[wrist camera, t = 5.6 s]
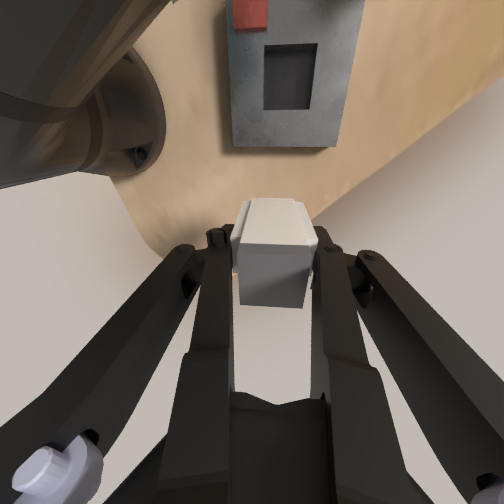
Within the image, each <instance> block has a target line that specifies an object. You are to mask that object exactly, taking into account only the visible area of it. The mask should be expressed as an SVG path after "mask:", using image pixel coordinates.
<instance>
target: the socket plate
mask: <svg viewBox="0 0 504 504" xmlns="http://www.w3.org/2000/svg"><path fill="white" fill-rule="evenodd" d="M225 4H226V23H227V42H228V61H229V80H230V98H231V117H232V136H233V147H336V144H337V139H338V134H339V129H340V124H341V119H342V114H343V109H344V104H345V99H346V94H347V89H348V84H349V79H350V74H351V69H352V64H353V59H354V54H355V49H356V44H357V39H358V34H359V29H360V24H361V19H362V14H363V9H364V4H365V0H225Z"/></svg>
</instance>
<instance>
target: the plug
mask: <svg viewBox="0 0 504 504" xmlns="http://www.w3.org/2000/svg"><path fill="white" fill-rule="evenodd" d="M312 257H313V256H312V253H311V250H310V247H309V244H308V241H307V238H306V234H305V231H304V228H303V225H302V222H301V219H300V216H299V213H298V210H297V207H296V204H295V201H294V199H289V198H252V201H251V204H250V208H249V212H248V215H247V219H246V223H245V226H244V230H243V233H242V237H241V241H240V244H239V248H238V251H237V261H238V278H239V293H240V294H239V295H240V305H252V306H269V307H285V308H301V309H302V308H303V302H304V297H305V292H306V287H307V282H308V277H309V272H310V267H311V262H312Z"/></svg>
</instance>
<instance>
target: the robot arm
mask: <svg viewBox="0 0 504 504" xmlns="http://www.w3.org/2000/svg"><path fill="white" fill-rule="evenodd" d="M171 1H172V2H173V4H174V3H175V2H177V1H178V0H171ZM169 2H170V0H0V189H3V188H7V187H12V186H16V185H20V184H25V183H29V182H33V181H38V180H42V179H47V178H51V177H55V176H59V175H64V174H68V173H72V172H77V171H79V172H86V173H92V174H99V175H105V176H112V177H122V176H129V175H132V174H135V173H138V172H141V171H144V170H145V169H147V168H149V167H150V166H151V165H152V164H153V163H154V162H155V161H156V160H157V158H158V157H159V155H160V153H161V151H162V148H163V145H164V141H165V135H166V118H165V111H164V106H163V102H162V98H161V95H160V92H159V89H158V87H157V84H156V82H155V80H154V78H153V76H152V74H151V72H150V70H149V69H148V67H147V65H146V64H145V62H144V61H143V59H142V58H141V57H140V55H139V54H138V53H137V52H136V51H135V49H134V48H133V47H132V46H133V44H134V43H135V42H136V41H137V40H138V38H139V37H140V36H141V35H142V34H143V32H144V31H145V30H146V29H147V28H148V26H149V25H150V24H151V23H152V21H153V20H154V19H155V18H156V17H157V15H158V14H159V13H160V12H161V11H162V10H163V8H164V7H165V6H166V5H167V4H168V3H169ZM250 204H251V201H243V204H242V206H241V209H240V212H239V214H238V217H237V220H236V223H235V224H225V225H224V226H222V227H221V228H213V229H210V230H209V231H207V233H206V236H207V243H208V247H207V248H206V249H201V250H195V247H194V246H193V245H190V244H182V245H179V246H177V247H175V248H174V249H173V250H172V251H171V252H170V253H169V254H168V255H167V256H166V257H165V259H164V260H163V261H162V262H161V263H160V264H159V265H158V266H157V267H156V268H155V270H154V271H153V272H152V273H151V274H150V275H149V276H148V277H147V279H146V280H145V281H144V282H143V283H142V284H141V285H140V286H139V287H138V288H137V290H136V291H135V292H134V293H133V294H132V295H131V296H130V297H129V299H127V301H126V302H125V303H124V304H123V305H122V306H121V307H120V308H119V309H118V310H117V312H116V313H115V314H114V315H113V316H112V317H111V318H110V320H108V322H107V323H106V324H105V325H104V326H103V327H102V328H101V329H100V330H99V332H98V333H97V334H96V335H95V336H94V337H93V338H92V339H91V340H90V341H89V343H88V344H87V345H86V346H85V347H84V348H83V349H82V350H81V351H80V352H79V354H78V355H77V356H76V357H75V358H74V359H73V360H72V361H71V362H70V364H69V365H68V366H67V367H66V368H65V369H64V370H63V371H62V372H61V374H60V375H59V376H58V377H57V378H56V379H55V380H54V381H53V382H52V383H51V385H50V386H49V387H48V388H47V389H46V390H45V391H44V392H43V393H42V394H41V395H40V396H39V397H37V398H36V399H35V400H34V401H32V402H31V403H30V404H29V405H27V406H26V407H25V408H24V409H22V410H21V411H20V412H19V413H17V414H16V415H15V416H14V417H13V418H11V419H10V420H9V421H8V422H6V423H5V424H4V425H3V426H1V427H0V504H87V502H88V501H90V500H91V499H92V498H93V496H94V495H95V493H96V492H97V490H98V488H99V486H100V483H101V475H102V470H103V465H104V464H103V458H104V457H105V455H106V454H107V453H108V451H109V450H110V448H111V447H112V445H113V444H114V442H115V441H116V439H117V438H118V436H119V435H120V433H121V432H122V430H123V429H124V427H125V425H126V423H127V422H128V420H129V418H130V416H131V415H132V413H133V411H134V409H135V407H136V405H137V403H138V402H139V400H140V398H141V396H142V394H143V392H144V390H145V388H146V386H147V385H148V383H149V381H150V379H151V377H152V375H153V373H154V371H155V370H156V368H157V366H158V364H159V362H160V360H161V358H162V356H163V354H164V353H165V351H166V349H167V347H168V345H169V343H170V341H171V339H172V337H173V336H174V334H175V332H176V330H177V328H178V326H179V324H180V322H181V320H182V319H183V317H184V315H185V313H186V311H187V309H188V307H189V305H190V303H191V302H192V300H193V298H194V296H195V294H196V292H197V290H198V288H199V286H200V285H201V287H200V293H199V298H198V304H197V309H196V315H195V321H194V327H193V332H192V338H191V343H190V349H189V351H188V353H185V354H184V356H183V359H182V363H181V368H180V373H179V378H178V383H177V388H176V393H175V398H174V403H173V408H172V413H171V418H170V423H169V428H168V433H167V434H166V435H165V436H164V437H163V438H162V439H161V441H160V442H159V443H158V444H157V445H156V446H155V447H154V448H153V449H152V451H151V452H150V453H149V454H148V455H147V456H146V457H145V458H144V459H143V460H142V461H141V462H140V463H139V465H138V466H137V467H136V468H135V469H134V470H133V471H132V472H131V473H130V474H129V476H128V477H127V478H126V479H125V480H124V481H123V482H122V483H121V484H120V485H119V487H118V488H117V489H116V490H115V491H114V492H113V493H112V494H111V495H110V497H108V498H107V500H106V501H105V502H104V503H103V504H434V503H433V501H432V500H431V499H430V498H429V497H428V496H427V495H426V493H425V492H424V491H423V490H422V489H421V487H420V486H419V485H418V484H417V483H416V482H415V481H414V479H413V478H412V477H411V476H410V475H409V473H408V472H407V471H406V468H405V464H404V460H403V457H402V453H401V449H400V446H399V442H398V438H397V434H396V430H395V427H394V423H393V419H392V416H391V412H390V408H389V405H388V400H387V397H386V393H385V389H384V385H383V382H382V379H381V376H380V373H379V371H378V370H377V369H376V368H375V367H372V366H371V365H370V364H369V361H368V358H367V353H366V349H365V344H364V340H363V336H362V331H361V327H360V323H359V319H358V314H357V311H358V313H359V315H360V317H361V319H362V320H363V322H364V324H365V326H366V328H367V330H368V332H369V333H370V335H371V337H372V339H373V341H374V343H375V345H376V346H377V348H378V350H379V352H380V354H381V356H382V357H383V359H384V361H385V363H386V365H387V367H388V369H389V370H390V372H391V374H392V376H393V378H394V380H395V381H396V383H397V385H398V387H399V389H400V391H401V392H402V394H403V396H404V398H405V400H406V402H407V404H408V406H409V407H410V409H411V411H412V413H413V415H414V417H415V419H416V420H417V422H418V424H419V426H420V428H421V429H422V432H423V433H424V435H425V437H426V439H427V441H428V442H429V444H430V446H431V448H432V449H433V451H434V453H435V455H436V456H437V458H438V460H439V461H440V463H441V465H442V466H443V468H444V470H445V471H446V473H447V474H448V476H449V477H450V479H451V480H452V482H453V483H454V485H455V486H456V488H457V489H458V491H459V492H460V494H461V495H462V496H463V498H464V499H465V500H466V502H467V503H468V504H504V382H503V381H502V379H501V378H500V377H499V376H498V375H497V374H496V373H495V372H494V371H493V370H492V369H491V368H490V367H489V366H488V365H487V364H486V363H485V362H484V361H483V360H482V359H481V358H480V357H479V356H478V355H477V353H476V352H475V351H474V350H473V349H472V348H471V347H470V346H469V345H468V344H467V343H466V342H465V341H464V340H463V339H462V338H461V337H460V336H459V335H458V334H457V333H456V332H455V331H454V330H453V329H452V328H451V327H450V325H449V324H448V323H447V322H446V321H445V320H443V318H442V317H441V316H440V315H439V314H438V313H437V312H436V311H435V310H434V309H433V308H432V307H431V306H430V305H429V304H428V303H427V302H426V301H425V300H424V298H422V297H421V295H420V294H419V293H418V292H417V291H416V290H415V289H414V288H413V287H412V286H411V285H410V284H409V283H408V282H407V281H406V280H405V279H404V278H403V277H402V276H401V275H400V274H399V273H398V272H397V270H396V269H395V268H394V267H393V266H392V265H391V264H390V263H389V262H388V261H387V260H386V259H385V258H384V257H383V256H382V255H380V254H379V253H377V252H375V251H371V250H361V251H359V252H358V255H357V256H354V255H350V254H346V253H343V250H342V248H341V247H340V246H338V245H336V244H333V242H332V240H331V238H330V237H329V234H328V232H327V231H326V229H324V228H323V227H322V226H312V223H311V221H310V218H309V216H308V214H307V211H306V209H305V206H304V204H303V202H295V204H296V207H297V210H298V213H299V216H300V219H301V222H302V225H303V228H304V231H305V234H306V238H307V241H308V244H309V247H310V250H311V253H312V256H313V257H312V262H311V267H310V272H309V276H311V273H312V270H313V279H312V283H311V288H310V289H312V327H311V328H312V329H311V391H310V398H307V399H302V400H298V401H293V402H289V403H285V404H281V405H275V404H272V403H270V402H267V401H265V400H262V399H260V398H258V397H255V396H253V395H250V394H248V393H244V392H235V387H234V344H233V343H234V342H233V295H232V268H233V273H238V261H237V251H238V248H239V244H240V241H241V237H242V233H243V230H244V226H245V223H246V219H247V215H248V212H249V208H250ZM372 287H373V288H372ZM356 309H357V310H356Z"/></svg>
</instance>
